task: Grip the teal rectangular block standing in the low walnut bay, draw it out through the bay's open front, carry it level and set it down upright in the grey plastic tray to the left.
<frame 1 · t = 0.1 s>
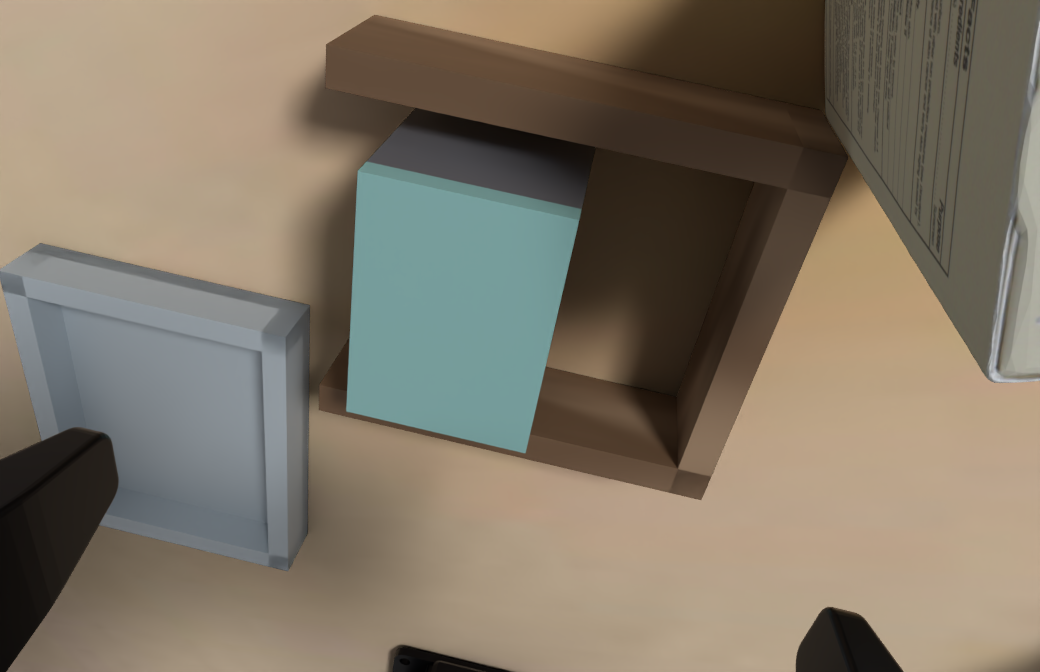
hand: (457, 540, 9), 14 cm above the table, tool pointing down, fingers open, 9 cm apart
teal rectangular block: (492, 229, 23), on the table
bay: (555, 245, 23), on the table
tray: (187, 403, 29), on the table
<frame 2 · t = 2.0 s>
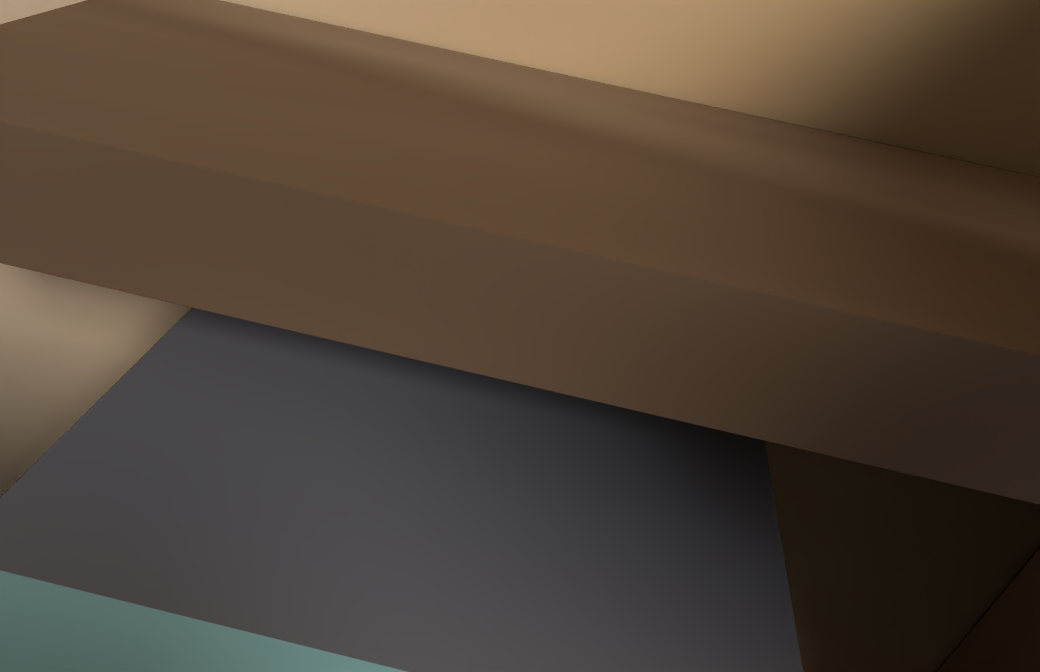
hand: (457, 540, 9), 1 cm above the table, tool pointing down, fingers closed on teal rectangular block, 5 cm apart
teal rectangular block: (474, 480, 10), on the table, touching gripper
bay: (618, 517, 10), on the table
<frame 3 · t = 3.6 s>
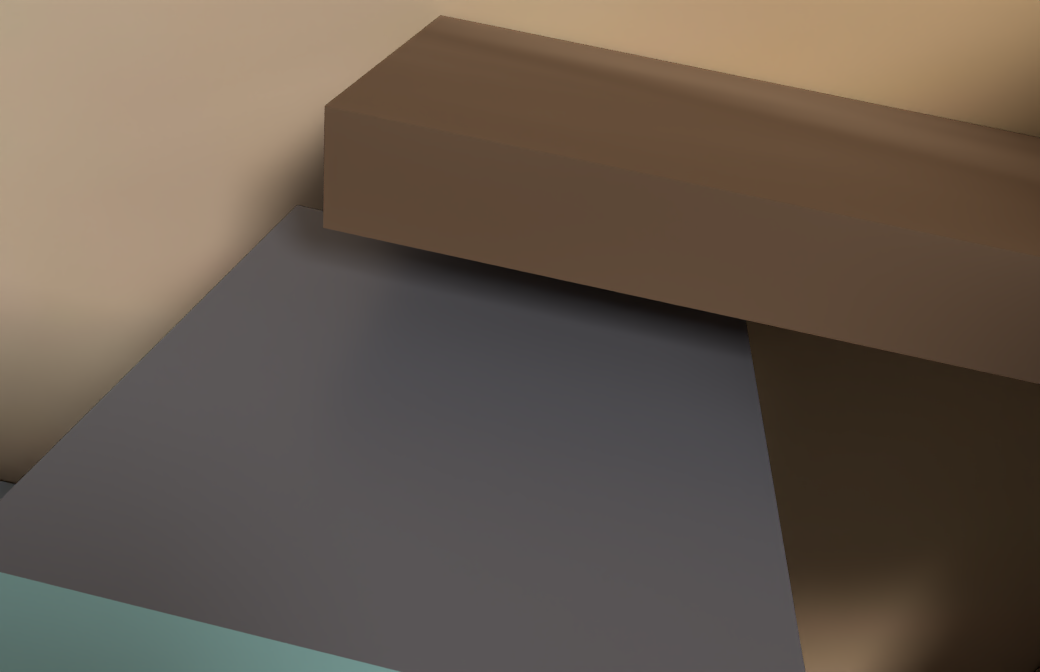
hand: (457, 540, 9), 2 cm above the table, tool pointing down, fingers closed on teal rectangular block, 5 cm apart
teal rectangular block: (475, 481, 10), point 1 cm above the table, touching gripper
bay: (797, 484, 11), on the table
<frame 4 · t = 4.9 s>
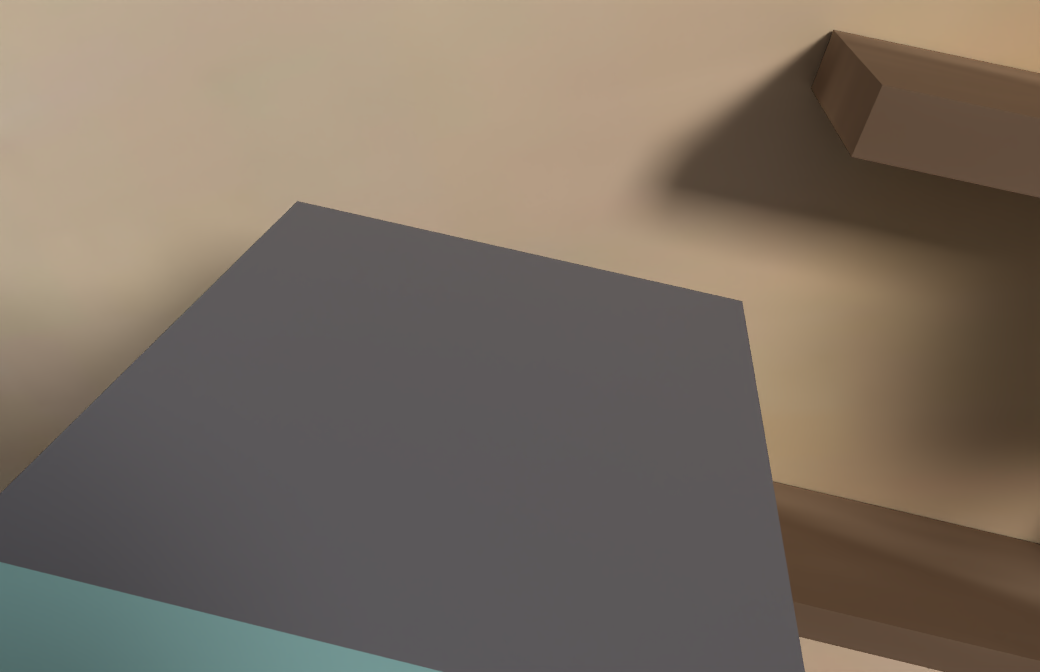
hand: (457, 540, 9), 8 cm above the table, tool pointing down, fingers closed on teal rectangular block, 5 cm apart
teal rectangular block: (475, 477, 10), point 7 cm above the table, touching gripper
bay: (1016, 366, 16), on the table
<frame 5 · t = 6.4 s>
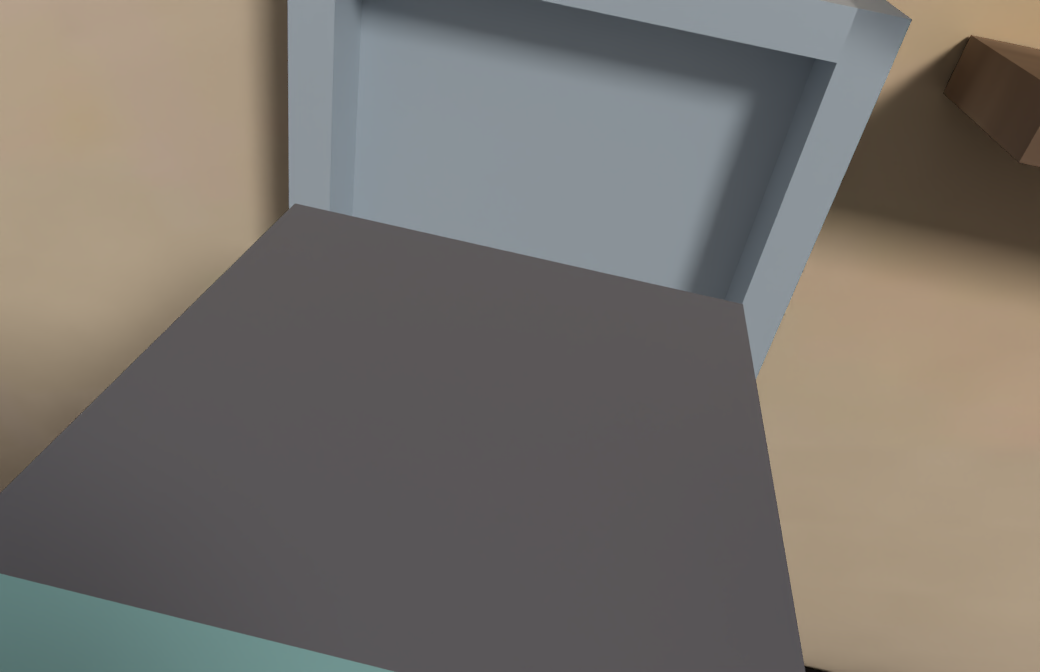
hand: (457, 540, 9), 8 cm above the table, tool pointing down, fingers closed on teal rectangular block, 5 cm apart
teal rectangular block: (474, 480, 10), point 7 cm above the table, touching gripper
tray: (542, 236, 16), on the table
when the fingers open (3 cm above the table, at t = 7.7 s): teal rectangular block drops 1 cm, resting on tray.
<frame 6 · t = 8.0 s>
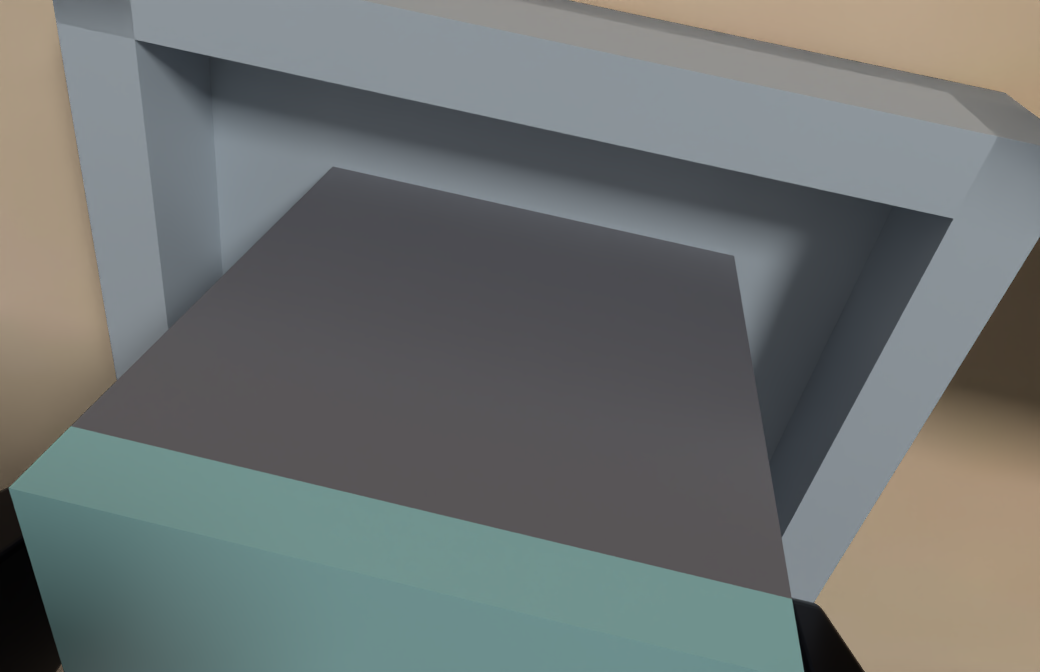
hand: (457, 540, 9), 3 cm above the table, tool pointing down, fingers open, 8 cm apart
teal rectangular block: (490, 425, 11), point 1 cm above the table, touching tray
tray: (496, 400, 12), on the table
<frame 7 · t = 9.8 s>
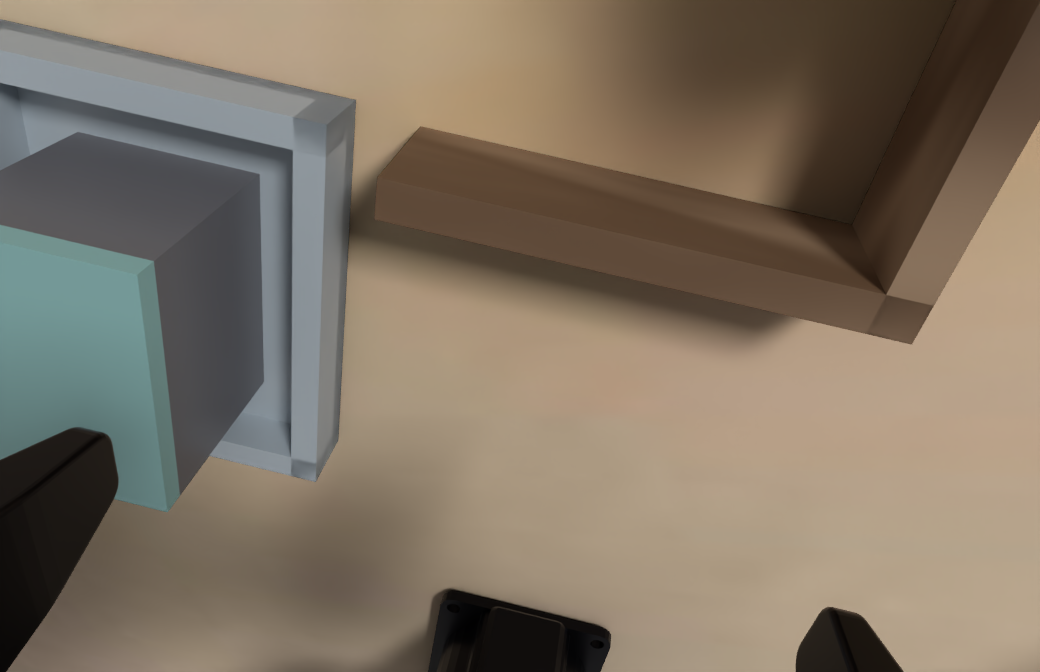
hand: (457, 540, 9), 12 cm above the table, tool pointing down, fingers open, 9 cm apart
teal rectangular block: (178, 267, 22), point 1 cm above the table, touching tray
tray: (188, 257, 23), on the table
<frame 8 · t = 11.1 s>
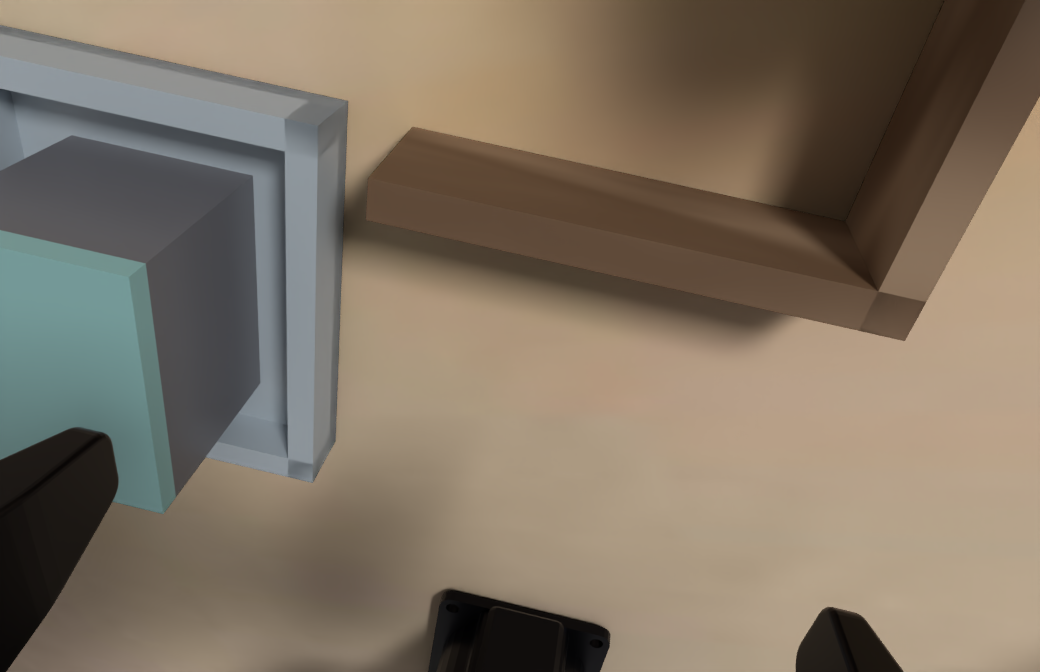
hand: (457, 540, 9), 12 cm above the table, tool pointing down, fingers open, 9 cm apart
teal rectangular block: (174, 269, 22), point 1 cm above the table, touching tray
tray: (184, 260, 23), on the table
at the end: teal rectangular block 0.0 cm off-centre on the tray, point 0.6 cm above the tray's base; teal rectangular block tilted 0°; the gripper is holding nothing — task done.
